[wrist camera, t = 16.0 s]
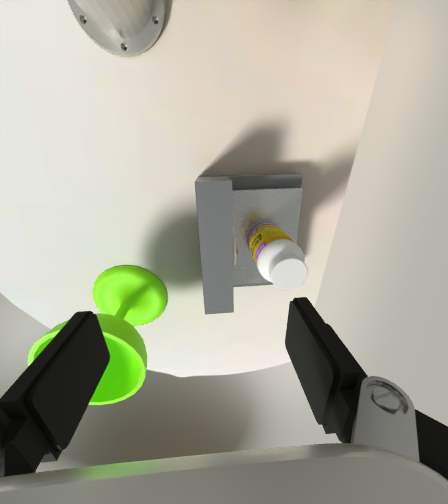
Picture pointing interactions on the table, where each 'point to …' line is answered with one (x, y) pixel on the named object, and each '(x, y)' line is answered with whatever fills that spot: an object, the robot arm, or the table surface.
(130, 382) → the wineglass
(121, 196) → the table surface
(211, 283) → the scale
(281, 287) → the supplement bottle
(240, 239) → the pan
